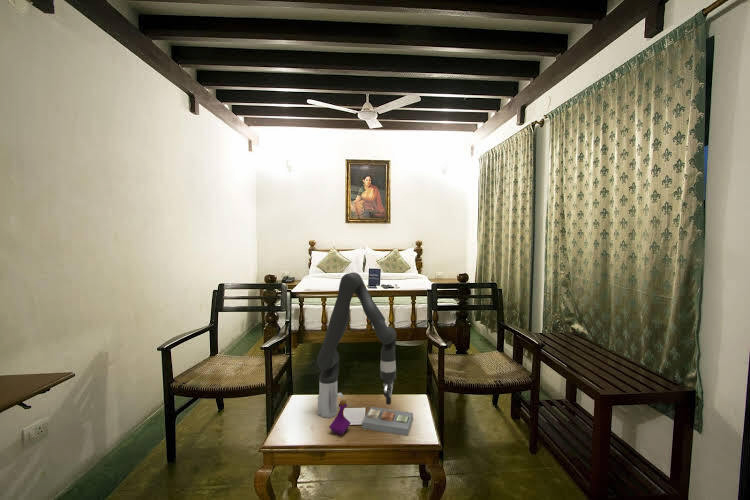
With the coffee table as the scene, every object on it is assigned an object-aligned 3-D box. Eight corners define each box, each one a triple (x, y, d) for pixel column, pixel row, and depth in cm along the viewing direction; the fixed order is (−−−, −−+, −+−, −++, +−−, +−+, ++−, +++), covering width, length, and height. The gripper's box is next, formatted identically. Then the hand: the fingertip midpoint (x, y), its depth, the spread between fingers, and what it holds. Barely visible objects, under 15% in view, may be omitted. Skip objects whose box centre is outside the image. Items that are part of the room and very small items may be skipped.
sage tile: (396, 424, 158) (396, 420, 158) (398, 419, 163) (398, 415, 163) (406, 426, 156) (406, 421, 156) (408, 420, 161) (408, 416, 161)
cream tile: (368, 418, 162) (368, 414, 162) (370, 413, 166) (370, 409, 166) (377, 419, 160) (377, 415, 160) (380, 414, 165) (380, 410, 165)
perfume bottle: (351, 429, 156) (350, 391, 156) (342, 438, 149) (342, 398, 149) (337, 425, 159) (337, 388, 159) (328, 434, 153) (328, 395, 152)
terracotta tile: (381, 420, 160) (381, 416, 160) (384, 415, 164) (384, 411, 164) (392, 421, 158) (392, 417, 158) (394, 416, 163) (394, 412, 163)
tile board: (362, 428, 157) (362, 422, 157) (370, 412, 172) (370, 406, 172) (407, 435, 151) (407, 429, 151) (412, 418, 166) (412, 412, 166)
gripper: (384, 363, 168) (384, 396, 169) (377, 373, 155) (377, 409, 156) (398, 364, 166) (398, 398, 167) (392, 374, 153) (393, 411, 154)
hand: (388, 403), depth 161 cm, fingers closed
